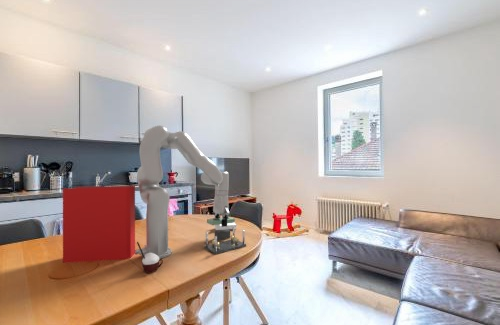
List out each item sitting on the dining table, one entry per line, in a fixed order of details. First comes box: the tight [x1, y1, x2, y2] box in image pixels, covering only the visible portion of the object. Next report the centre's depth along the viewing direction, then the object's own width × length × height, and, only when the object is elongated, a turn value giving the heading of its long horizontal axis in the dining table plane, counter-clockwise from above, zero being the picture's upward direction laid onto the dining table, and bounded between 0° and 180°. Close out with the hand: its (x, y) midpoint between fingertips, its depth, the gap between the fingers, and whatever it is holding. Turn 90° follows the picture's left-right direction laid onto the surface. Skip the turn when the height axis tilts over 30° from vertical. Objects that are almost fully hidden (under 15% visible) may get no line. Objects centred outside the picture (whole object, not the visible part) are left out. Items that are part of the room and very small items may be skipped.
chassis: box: [203, 226, 247, 255], centre depth 117 cm, size 18×11×8 cm, turn 128°
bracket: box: [214, 222, 237, 231], centre depth 149 cm, size 13×7×8 cm, turn 102°
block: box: [214, 229, 231, 242], centre depth 131 cm, size 8×4×4 cm, turn 128°
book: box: [62, 185, 136, 263], centre depth 105 cm, size 27×8×32 cm, turn 97°
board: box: [206, 216, 236, 226], centre depth 130 cm, size 14×7×3 cm, turn 128°
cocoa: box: [136, 241, 164, 274], centre depth 92 cm, size 10×6×12 cm, turn 101°
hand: (220, 224), depth 130 cm, fingers closed on board, 7 cm apart
